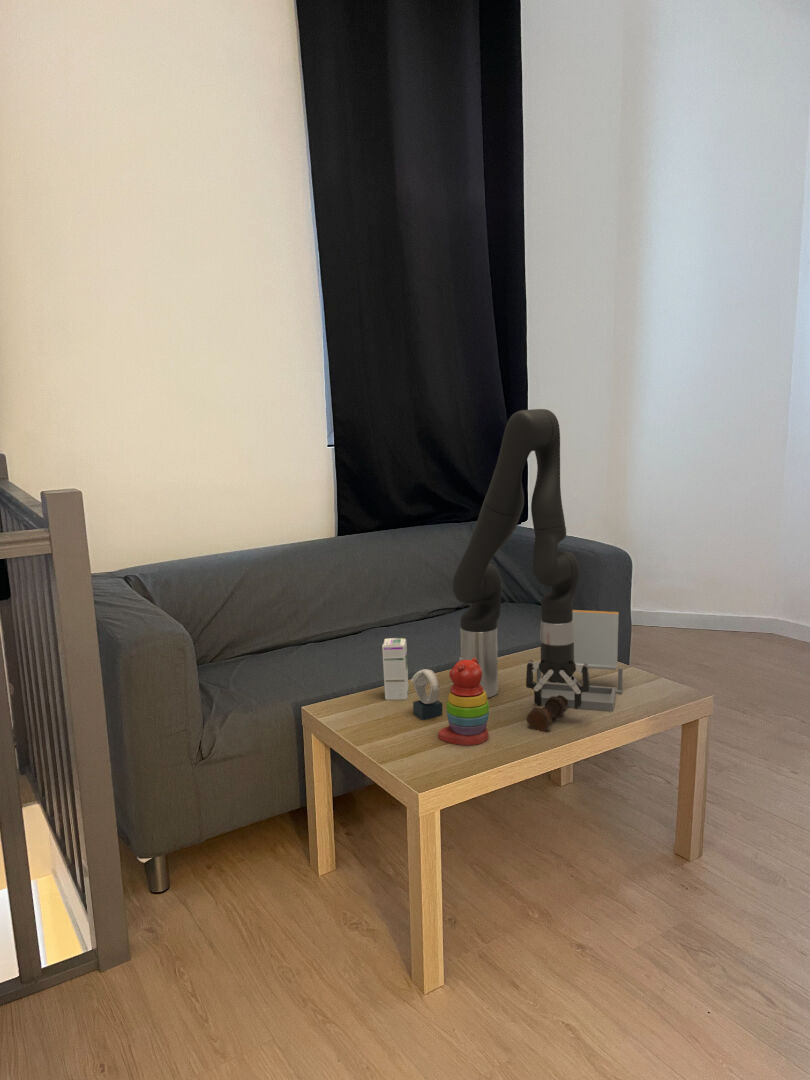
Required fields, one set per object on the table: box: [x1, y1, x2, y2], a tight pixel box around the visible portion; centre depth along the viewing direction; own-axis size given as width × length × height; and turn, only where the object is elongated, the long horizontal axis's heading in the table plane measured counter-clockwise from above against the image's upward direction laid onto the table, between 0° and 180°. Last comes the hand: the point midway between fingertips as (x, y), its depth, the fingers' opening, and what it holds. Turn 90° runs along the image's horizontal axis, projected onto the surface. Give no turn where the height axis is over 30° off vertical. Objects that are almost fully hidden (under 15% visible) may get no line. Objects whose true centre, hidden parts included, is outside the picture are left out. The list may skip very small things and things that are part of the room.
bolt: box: [526, 695, 568, 732], centre depth 193 cm, size 6×5×15 cm
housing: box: [533, 661, 623, 712], centre depth 205 cm, size 21×15×6 cm
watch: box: [410, 668, 443, 721], centre depth 197 cm, size 6×8×11 cm
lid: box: [572, 609, 620, 671], centre depth 212 cm, size 19×14×1 cm
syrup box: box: [381, 637, 410, 701], centre depth 209 cm, size 6×6×14 cm
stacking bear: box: [437, 658, 490, 746], centre depth 183 cm, size 11×10×18 cm
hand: (557, 706), depth 192 cm, fingers open, 8 cm apart
